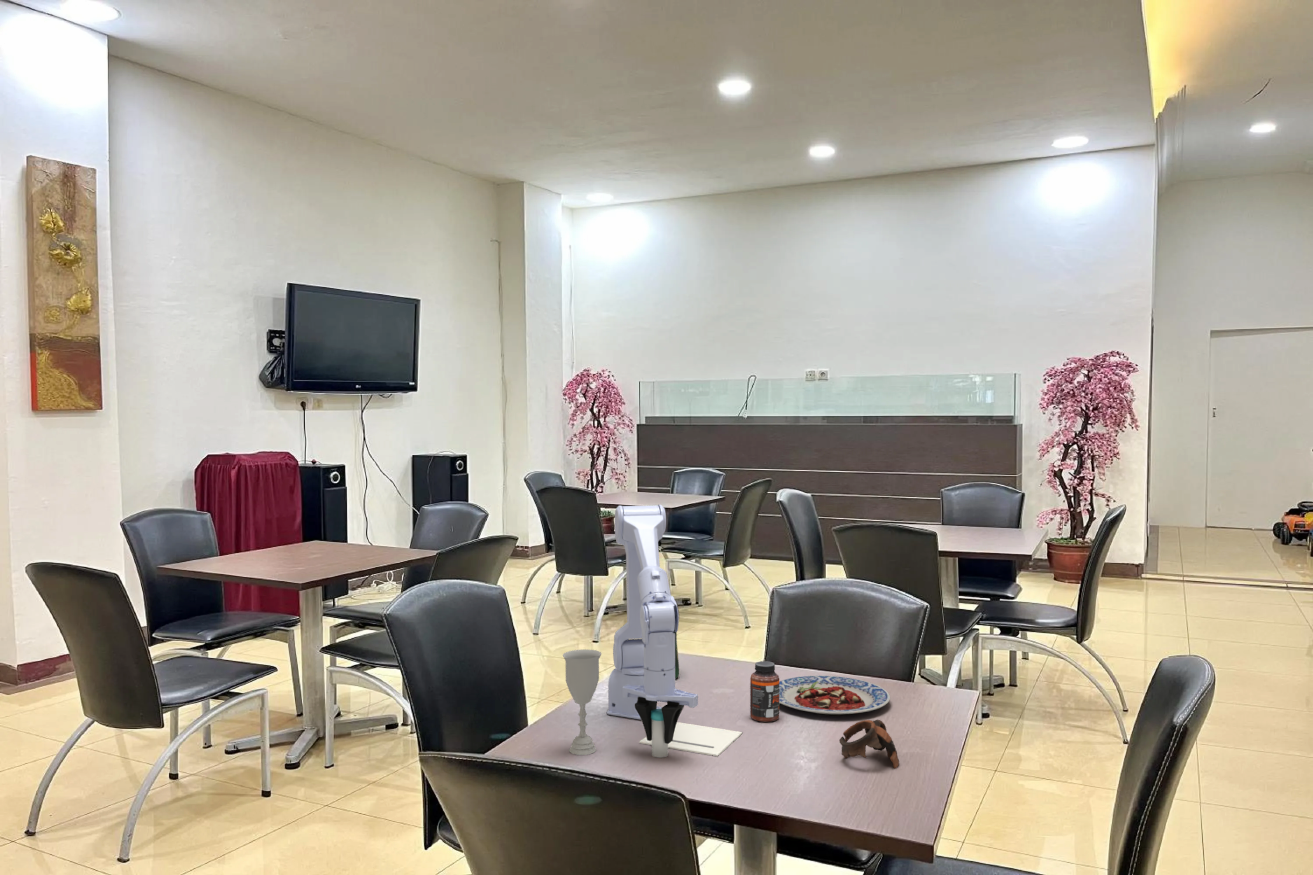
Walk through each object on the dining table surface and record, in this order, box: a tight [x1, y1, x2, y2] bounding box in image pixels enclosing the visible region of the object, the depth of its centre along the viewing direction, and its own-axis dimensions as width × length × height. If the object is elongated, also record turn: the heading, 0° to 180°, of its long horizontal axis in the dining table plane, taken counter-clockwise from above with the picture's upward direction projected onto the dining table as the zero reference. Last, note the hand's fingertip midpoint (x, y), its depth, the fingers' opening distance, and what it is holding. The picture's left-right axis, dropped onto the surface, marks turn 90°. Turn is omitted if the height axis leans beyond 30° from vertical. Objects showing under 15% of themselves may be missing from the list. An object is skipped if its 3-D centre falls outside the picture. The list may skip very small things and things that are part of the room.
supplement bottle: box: [749, 660, 780, 723], centre depth 191 cm, size 6×6×11 cm
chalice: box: [562, 648, 602, 756], centre depth 174 cm, size 7×7×18 cm
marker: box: [651, 709, 669, 759], centre depth 171 cm, size 3×3×8 cm
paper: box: [638, 721, 743, 757], centre depth 180 cm, size 16×13×1 cm
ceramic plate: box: [779, 675, 891, 716], centre depth 202 cm, size 26×26×3 cm
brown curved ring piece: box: [839, 719, 900, 769], centre depth 169 cm, size 12×10×8 cm
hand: (659, 740), depth 171 cm, fingers closed on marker, 3 cm apart
